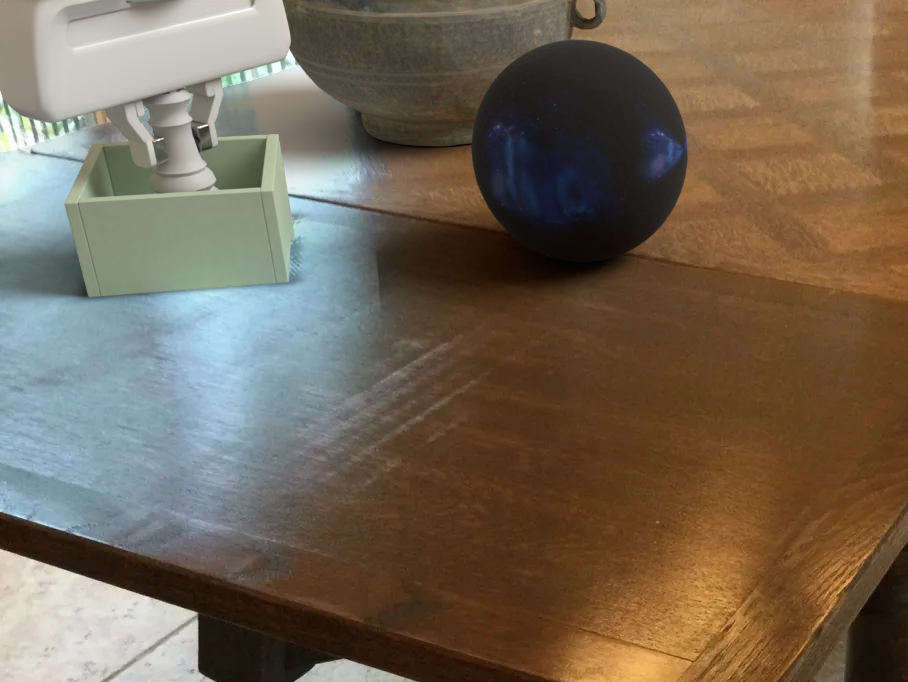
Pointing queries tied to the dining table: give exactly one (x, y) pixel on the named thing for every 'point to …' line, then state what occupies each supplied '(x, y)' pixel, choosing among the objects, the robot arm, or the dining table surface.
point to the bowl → (422, 56)
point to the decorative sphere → (579, 150)
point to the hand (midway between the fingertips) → (177, 157)
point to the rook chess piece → (177, 146)
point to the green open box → (182, 221)
